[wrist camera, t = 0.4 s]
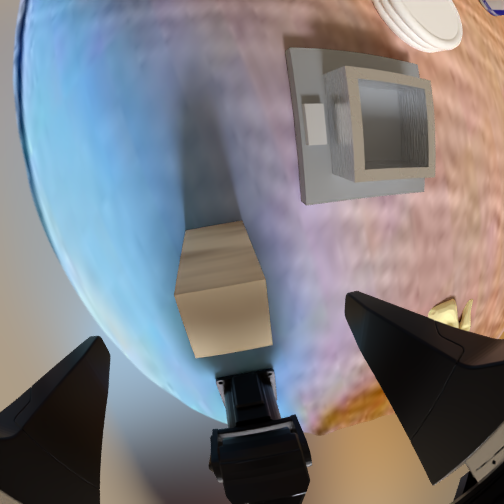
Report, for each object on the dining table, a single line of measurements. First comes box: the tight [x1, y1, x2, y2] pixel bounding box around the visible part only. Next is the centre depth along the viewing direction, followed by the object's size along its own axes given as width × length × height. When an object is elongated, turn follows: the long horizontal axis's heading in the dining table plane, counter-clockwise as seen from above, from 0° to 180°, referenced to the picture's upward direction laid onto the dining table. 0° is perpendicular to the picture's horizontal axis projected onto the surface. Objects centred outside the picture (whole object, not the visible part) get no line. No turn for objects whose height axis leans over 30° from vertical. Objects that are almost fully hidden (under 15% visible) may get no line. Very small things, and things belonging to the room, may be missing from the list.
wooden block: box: [174, 221, 273, 358], centre depth 18 cm, size 4×4×9 cm
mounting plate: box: [285, 47, 425, 205], centre depth 18 cm, size 12×12×2 cm
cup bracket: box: [323, 66, 435, 183], centre depth 16 cm, size 8×8×4 cm
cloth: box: [428, 299, 473, 331], centre depth 31 cm, size 22×19×6 cm
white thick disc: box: [372, 0, 462, 53], centre depth 13 cm, size 10×10×4 cm
